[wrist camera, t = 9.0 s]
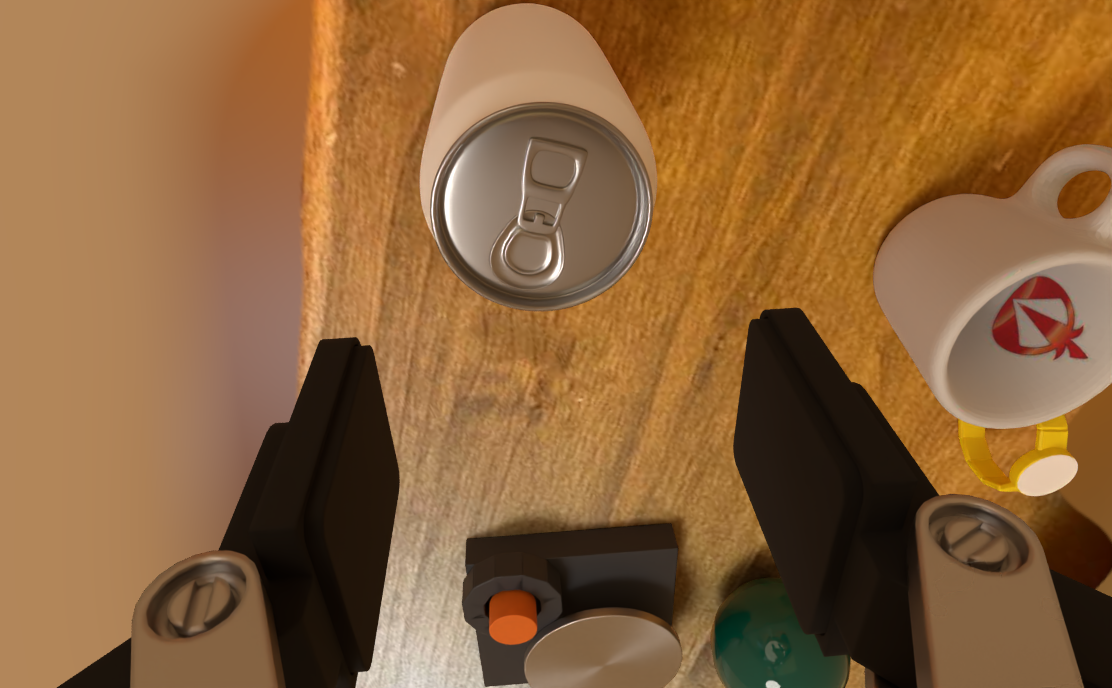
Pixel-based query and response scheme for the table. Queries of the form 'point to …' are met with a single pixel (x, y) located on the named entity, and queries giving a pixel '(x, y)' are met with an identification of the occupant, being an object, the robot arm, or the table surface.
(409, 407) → the table surface
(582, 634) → the brushed metal disc
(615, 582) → the scale
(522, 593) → the button
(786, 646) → the sphere
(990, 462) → the watch
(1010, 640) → the robot arm
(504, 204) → the can
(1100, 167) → the cup
